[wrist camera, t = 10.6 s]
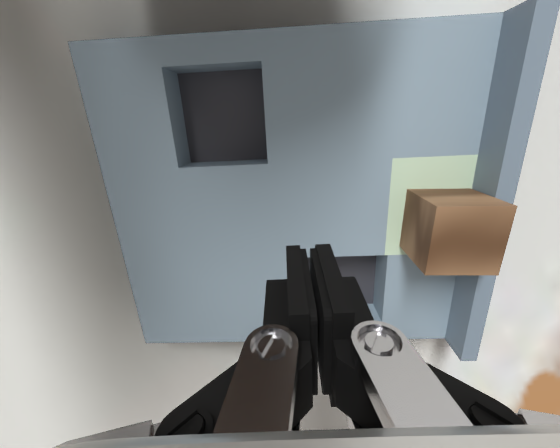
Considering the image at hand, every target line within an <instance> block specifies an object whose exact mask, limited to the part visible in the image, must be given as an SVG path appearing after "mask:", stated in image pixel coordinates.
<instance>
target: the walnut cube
mask: <svg viewBox="0 0 560 448" xmlns="http://www.w3.org/2000/svg"><path fill="white" fill-rule="evenodd" d="M516 209H517V206H516V205H513V204H511V203H508V202H505V201H503V200H500V199H497V198H495V197H492V196H489V195H487V194H484V193H481V192H479V191H476V190H474V189H471V188H460V189H407V192H406V200H405V207H404V215H403V222H402V229H401V237H400V244H399V246H400V247H401V248H402V250H403V251H404V252H405V253H406V254H407V255H408V257H409V258H410V259H411V260H412V261H413V262H414V263H415V265H416V266H417V267H418V268H419V269H420V270H421V271H422V273H423V274H424V275H499V271H500V267H501V264H502V260H503V256H504V253H505V249H506V245H507V242H508V238H509V235H510V231H511V227H512V224H513V220H514V216H515V213H516Z"/></svg>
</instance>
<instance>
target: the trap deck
mask: <svg viewBox="0 0 560 448" xmlns="http://www.w3.org/2000/svg"><path fill="white" fill-rule="evenodd" d="M559 6H560V0H527V1H525V2H523V3H521V4H519V5H517V6H515V7H513V8H511V9H509V10H507V11H505V12H499V13H484V14H470V15H455V16H440V17H425V18H410V19H395V20H380V21H365V22H350V23H336V24H321V25H306V26H291V27H276V28H261V29H246V30H231V31H216V32H202V33H187V34H172V35H157V36H142V37H127V38H112V39H97V40H82V41H68V45H69V48H70V52H71V56H72V60H73V64H74V68H75V72H76V75H77V79H78V83H79V87H80V91H81V95H82V99H83V102H84V106H85V110H86V114H87V118H88V122H89V126H90V130H91V133H92V137H93V141H94V145H95V149H96V153H97V157H98V160H99V164H100V168H101V172H102V176H103V180H104V184H105V187H106V191H107V195H108V199H109V203H110V207H111V211H112V215H113V218H114V222H115V226H116V230H117V234H118V238H119V242H120V245H121V249H122V253H123V257H124V261H125V265H126V269H127V272H128V276H129V280H130V284H131V288H132V292H133V296H134V299H135V303H136V307H137V311H138V315H139V319H140V323H141V327H142V330H143V334H144V338H145V342H146V343H185V342H245V340H246V338H247V337H248V335H249V334H250V333H251V332H252V331H253V330H255V329H257V328H259V327H261V326H263V317H264V305H265V293H266V282H267V280H276V279H287V262H286V246H290V245H300V249H306V252H307V258H308V264H309V269H310V248H315V244H330V245H331V248H332V250H333V253H334V256H335V259H336V262H337V264H338V267H339V270H340V273H341V275H342V277H350V276H354V277H355V278H356V280H357V282H358V284H359V287H360V289H361V291H362V293H363V296H364V298H365V300H366V302H367V305H368V307H369V309H370V312H371V314H372V316H373V318H374V321H381V322H385V323H388V324H391V325H393V326H394V327H396V328H398V329H399V330H400V331H401V332H402V333H403V334H404V335H405V336H406V337H407V338H408V339H437V338H445V339H446V341H447V342H448V344H449V345H450V346H451V348H452V349H453V351H454V352H455V353H456V355H457V356H458V358H459V359H460V360H461V361H476V360H477V356H478V352H479V347H480V343H481V339H482V335H483V330H484V326H485V322H486V318H487V313H488V309H489V305H490V301H491V296H492V292H493V288H494V283H495V279H496V275H424V274H423V273H422V271H421V270H420V269H419V268H418V267H417V266H416V265H415V263H414V262H413V261H412V260H411V259H410V258H409V257H408V255H407V254H406V253H405V252H404V251H403V250H402V248H401V247H400V246H399V244H400V237H401V229H402V222H403V215H404V207H405V200H406V192H407V189H460V188H471V189H474V190H476V191H479V192H481V193H484V194H487V195H489V196H492V197H495V198H497V199H500V200H503V201H505V202H508V203H511V204H513V202H514V198H515V194H516V190H517V185H518V181H519V177H520V173H521V168H522V164H523V160H524V156H525V151H526V147H527V143H528V138H529V134H530V130H531V126H532V121H533V117H534V113H535V109H536V104H537V100H538V96H539V92H540V87H541V83H542V79H543V75H544V70H545V66H546V62H547V57H548V53H549V49H550V45H551V40H552V36H553V32H554V28H555V23H556V19H557V15H558V11H559Z"/></svg>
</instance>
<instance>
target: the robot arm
mask: <svg viewBox="0 0 560 448" xmlns="http://www.w3.org/2000/svg"><path fill="white" fill-rule="evenodd" d="M286 262H287V279H276V280H267V282H266V293H265V305H264V317H263V326H261V327H259V328H257V329H255V330H253V331H252V332H251V333H250V334H249V335H248V337H247V338H246V340H245V343H244V345H243V348H242V351H241V354H240V357H239V360H238V362H236V363H235V364H234V365H232V366H231V367H230V368H228V369H227V370H226V371H225V372H223V373H222V374H221V375H219V376H218V377H217V378H215V379H214V380H213V381H211V382H210V383H209V384H207V385H206V386H205V387H203V388H202V389H201V390H199V391H198V392H197V393H195V394H194V395H193V396H191V397H190V398H189V399H187V400H186V401H185V402H183V403H182V404H181V405H179V406H178V407H177V408H175V409H174V410H173V411H172V412H170V413H169V414H168V415H167V416H166V417H165V418H164V419H163V421H162V422H161V423H157V424H153V423H152V420H149V421H145V422H141V423H137V424H133V425H129V426H125V427H121V428H117V429H114V430H110V431H106V432H102V433H98V434H94V435H90V436H86V437H82V438H78V439H75V440H71V441H67V442H65V443H63V444H60V445H58V446H56V447H54V448H560V416H559V415H554V414H548V413H542V412H536V411H530V410H525V409H519V411H518V413H514V412H513V411H512V410H511V409H509V408H508V407H507V406H505V405H503V404H502V403H500V402H499V401H497V400H495V399H493V398H492V397H490V396H488V395H486V394H484V393H482V392H480V391H478V390H477V389H475V388H473V387H471V386H469V385H467V384H465V383H463V382H462V381H460V380H458V379H456V378H454V377H452V376H450V375H448V374H447V373H445V372H443V371H441V370H439V369H437V368H435V367H433V366H432V365H430V364H428V363H426V362H425V361H424V360H423V358H422V357H421V356H420V354H419V353H418V352H417V350H416V349H415V348H414V346H413V345H412V344H411V342H410V341H409V340H408V338H407V337H406V336H405V335H404V334H403V333H402V332H401V331H400V330H399V329H398V328H396V327H394V326H393V325H391V324H388V323H385V322H381V321H374V318H373V316H372V314H371V312H370V309H369V307H368V305H367V302H366V300H365V298H364V296H363V293H362V291H361V289H360V287H359V284H358V282H357V280H356V278H355V277H354V276H350V277H342V275H341V273H340V270H339V267H338V264H337V262H336V259H335V256H334V253H333V250H332V248H331V245H330V244H315V248H310V269H309V264H308V258H307V252H306V249H300V245H290V246H286ZM318 366H319V373H320V379H321V386H322V393H323V395H328V394H329V396H330V402H331V407H337V408H339V409H340V410H341V411H342V412H344V413H345V414H346V415H347V423H348V427H349V429H337V430H304V431H301V419H302V418H303V417H304V416H305V415H306V414H307V413H308V411H309V410H310V409H311V408H312V407H313V395H317V394H318Z"/></svg>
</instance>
